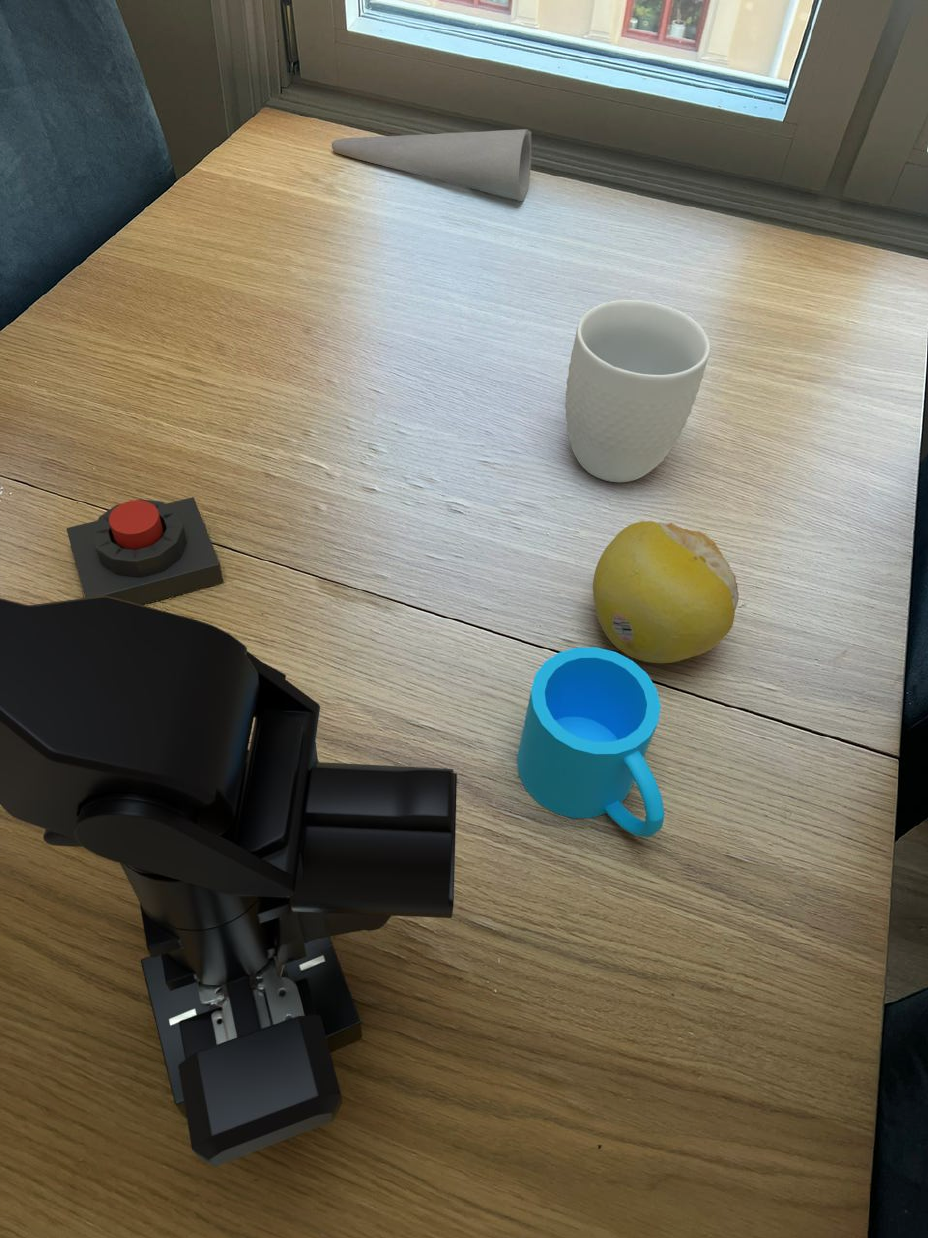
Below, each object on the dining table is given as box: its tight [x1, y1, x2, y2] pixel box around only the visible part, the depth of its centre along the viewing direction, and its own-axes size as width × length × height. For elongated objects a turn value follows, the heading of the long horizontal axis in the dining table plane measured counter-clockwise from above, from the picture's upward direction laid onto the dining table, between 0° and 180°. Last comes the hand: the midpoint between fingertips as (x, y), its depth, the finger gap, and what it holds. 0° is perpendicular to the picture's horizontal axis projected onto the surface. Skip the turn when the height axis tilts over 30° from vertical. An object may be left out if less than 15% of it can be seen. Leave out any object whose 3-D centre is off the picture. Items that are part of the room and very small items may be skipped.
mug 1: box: [564, 299, 711, 483], centre depth 82 cm, size 15×11×13 cm
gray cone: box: [331, 128, 532, 202], centre depth 116 cm, size 8×9×26 cm
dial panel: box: [140, 937, 363, 1118], centre depth 52 cm, size 10×9×3 cm
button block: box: [65, 496, 224, 606], centre depth 72 cm, size 10×8×4 cm
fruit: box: [592, 520, 740, 664], centre depth 69 cm, size 10×11×10 cm
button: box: [109, 499, 163, 550], centre depth 70 cm, size 4×4×2 cm
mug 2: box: [516, 646, 665, 838], centre depth 61 cm, size 12×8×8 cm
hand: (247, 988), depth 50 cm, fingers closed on dial, 4 cm apart
